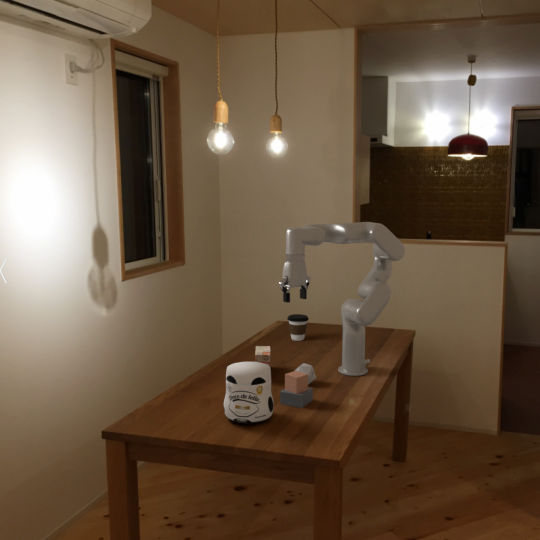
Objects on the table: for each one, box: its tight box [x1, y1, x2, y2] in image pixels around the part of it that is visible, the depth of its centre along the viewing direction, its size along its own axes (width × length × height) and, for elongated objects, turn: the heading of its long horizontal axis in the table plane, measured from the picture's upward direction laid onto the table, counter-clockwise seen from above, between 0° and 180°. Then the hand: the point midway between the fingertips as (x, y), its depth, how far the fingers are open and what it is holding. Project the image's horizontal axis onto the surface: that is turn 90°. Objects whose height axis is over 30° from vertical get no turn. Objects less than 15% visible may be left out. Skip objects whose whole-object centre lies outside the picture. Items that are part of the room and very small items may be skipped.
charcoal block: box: [279, 386, 314, 409], centre depth 234 cm, size 9×9×5 cm
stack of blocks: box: [254, 345, 271, 367], centre depth 265 cm, size 21×6×12 cm, turn 0°
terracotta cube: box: [284, 370, 309, 394], centre depth 234 cm, size 6×6×6 cm
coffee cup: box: [286, 313, 309, 342], centre depth 322 cm, size 11×11×12 cm
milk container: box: [223, 361, 275, 425], centre depth 218 cm, size 17×17×18 cm
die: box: [294, 362, 317, 385], centre depth 255 cm, size 8×9×10 cm
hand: (295, 300), depth 255 cm, fingers open, 9 cm apart
